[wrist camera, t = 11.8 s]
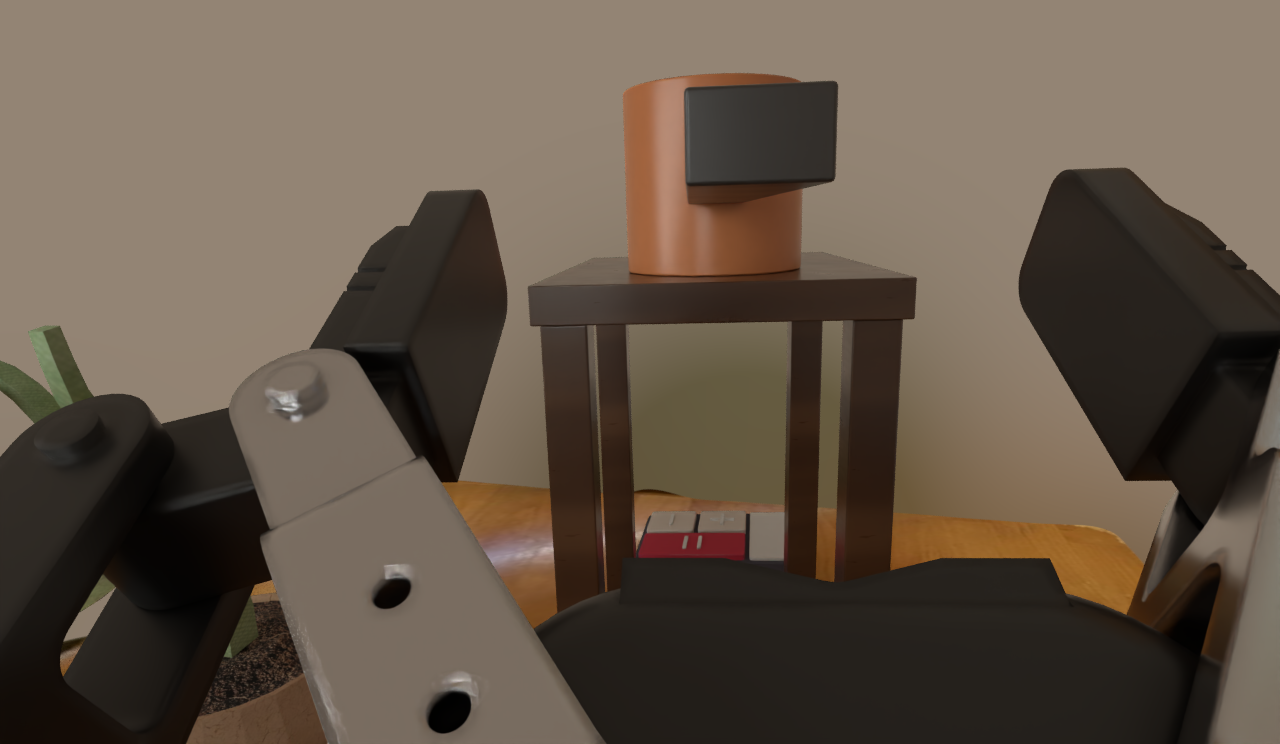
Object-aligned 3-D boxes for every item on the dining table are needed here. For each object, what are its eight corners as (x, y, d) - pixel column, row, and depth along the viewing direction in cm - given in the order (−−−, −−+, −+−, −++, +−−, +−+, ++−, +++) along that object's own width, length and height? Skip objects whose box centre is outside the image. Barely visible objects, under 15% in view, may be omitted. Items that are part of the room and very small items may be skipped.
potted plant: (219, 660, 57) (154, 293, 51) (422, 681, 54) (380, 290, 48) (-117, 929, 36) (-305, 352, 29) (186, 993, 32) (49, 355, 26)
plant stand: (877, 989, 32) (917, 277, 25) (570, 974, 33) (527, 286, 26) (810, 714, 49) (823, 252, 42) (612, 710, 50) (592, 258, 43)
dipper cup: (1011, 366, 11) (1061, -207, 9) (519, 373, 11) (481, -166, 10) (787, 261, 35) (790, 100, 33) (635, 265, 35) (630, 106, 34)
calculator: (648, 507, 76) (790, 506, 73) (651, 544, 77) (791, 544, 74) (631, 555, 65) (796, 555, 63) (635, 597, 66) (797, 599, 64)
